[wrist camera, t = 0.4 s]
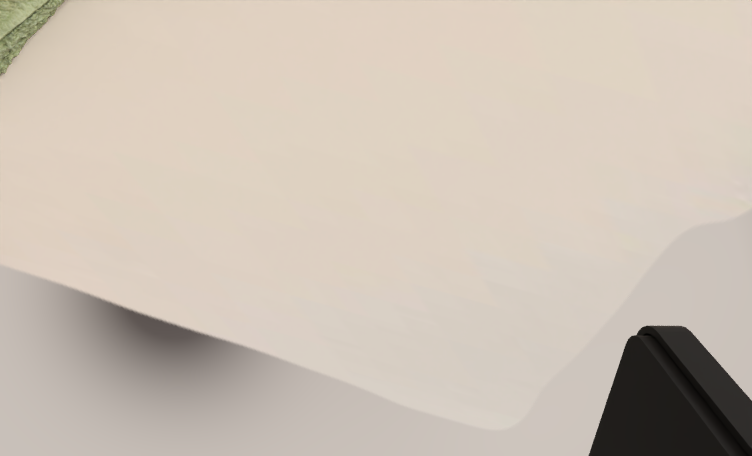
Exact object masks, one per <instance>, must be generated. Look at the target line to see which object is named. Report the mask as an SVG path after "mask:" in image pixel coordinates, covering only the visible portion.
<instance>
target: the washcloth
mask: <svg viewBox="0 0 752 456" xmlns="http://www.w3.org/2000/svg"><path fill="white" fill-rule="evenodd" d="M63 2H64V0H0V74H1V73H6V70H7V68H8V66H9V65H10V64H11V63H12V61H11V60H12V58H14V57H16V56H17V55H19V52H20V51H21V49H22V47H23V46H24V44H25V43H26V41H27V40H28V39H29V38H30V37H31V36H32V35H33V34H35V33H36V31H37V30H38V29H40V28H41V27H42V26H43V24H45V23H46V22H47V21H48V20H47V18H48V17H49V16H53V15H54V14H55V11H56V8H57V7H59V6H60V5H61V4H62V3H63Z"/></svg>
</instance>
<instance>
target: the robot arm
mask: <svg viewBox="0 0 752 456" xmlns="http://www.w3.org/2000/svg"><path fill="white" fill-rule="evenodd" d="M589 456H752V401H751V400H750V398H749V397H748V396H747V395H746V394H745V393H744V392H743V390H742V389H741V388H740V387H739V386H738V385H737V384H736V383H735V381H734V380H733V379H732V378H731V377H730V376H729V375H728V373H727V372H726V371H725V370H724V369H723V368H722V367H721V365H720V364H719V363H718V362H717V361H716V360H715V359H714V357H713V356H712V355H711V354H710V353H709V352H708V351H707V350H706V348H705V347H704V346H703V345H702V344H701V343H700V342H699V340H698V339H697V338H696V337H695V336H694V335H693V334H692V332H691V331H689V330H688V329H687V328H686V327H682V326H645V327H642V328H641V329H640V330H639V331H638V333H637V335H636V336H631V337H630V338H629V339H628V341H627V343H626V346H625V349H624V352H623V355H622V358H621V361H620V364H619V367H618V370H617V373H616V376H615V379H614V382H613V385H612V388H611V391H610V393H609V396H608V399H607V402H606V405H605V409H604V412H603V414H602V418H601V421H600V423H599V427H598V429H597V432H596V435H595V439H594V441H593V444H592V448H591V451H590V453H589Z"/></svg>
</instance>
